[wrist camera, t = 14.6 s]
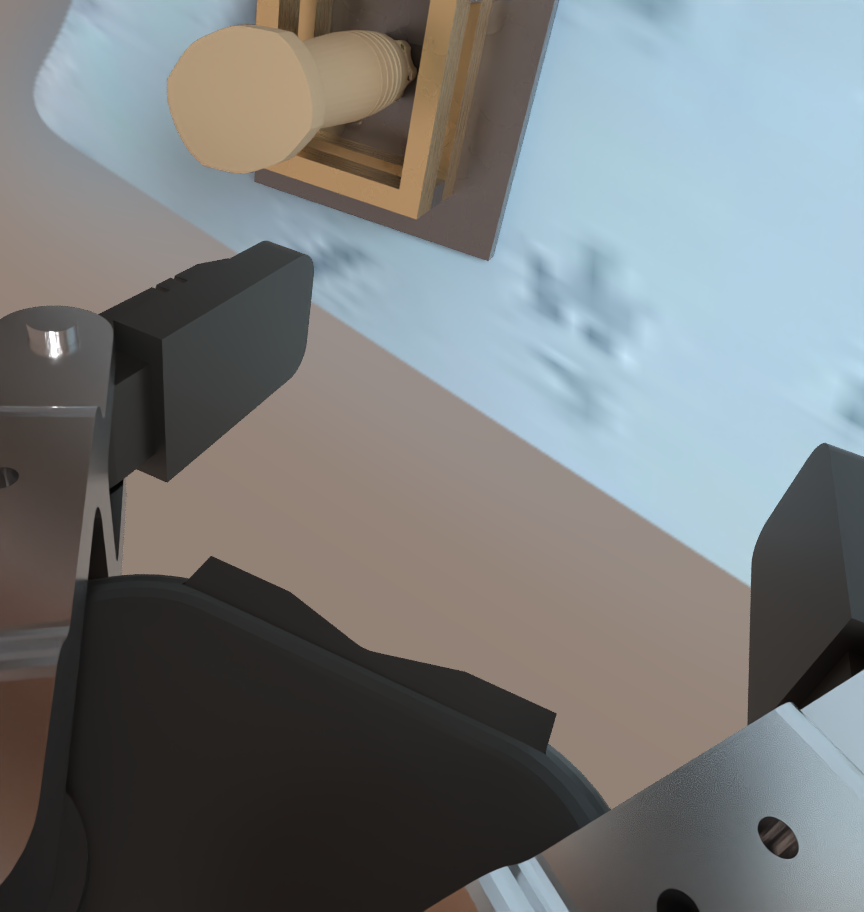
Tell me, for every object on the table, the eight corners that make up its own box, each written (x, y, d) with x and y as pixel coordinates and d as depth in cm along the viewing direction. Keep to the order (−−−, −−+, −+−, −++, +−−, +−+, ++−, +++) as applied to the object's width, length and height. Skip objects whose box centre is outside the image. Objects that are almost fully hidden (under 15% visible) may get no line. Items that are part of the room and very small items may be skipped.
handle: (457, 96, 39) (329, 147, 27) (356, 129, 42) (201, 188, 30) (431, -5, 37) (281, 2, 25) (327, 37, 40) (148, 61, 28)
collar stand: (280, -162, 37) (202, -184, 31) (582, -89, 34) (549, -101, 29) (263, 178, 47) (202, 202, 42) (493, 255, 44) (458, 292, 39)
